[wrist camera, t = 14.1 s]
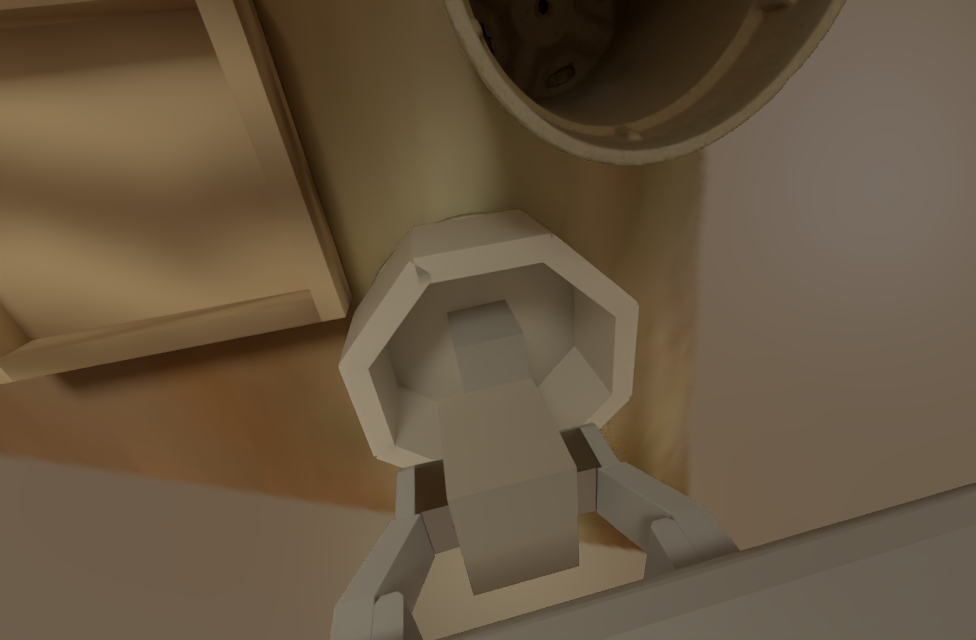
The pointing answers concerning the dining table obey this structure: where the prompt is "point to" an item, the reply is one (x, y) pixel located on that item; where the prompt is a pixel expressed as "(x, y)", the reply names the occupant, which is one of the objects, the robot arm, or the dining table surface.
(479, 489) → the block
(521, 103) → the flower pot
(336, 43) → the dining table surface
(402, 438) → the bowl
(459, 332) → the tall grey rectangular block
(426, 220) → the dining table surface
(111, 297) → the tray
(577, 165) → the dining table surface
